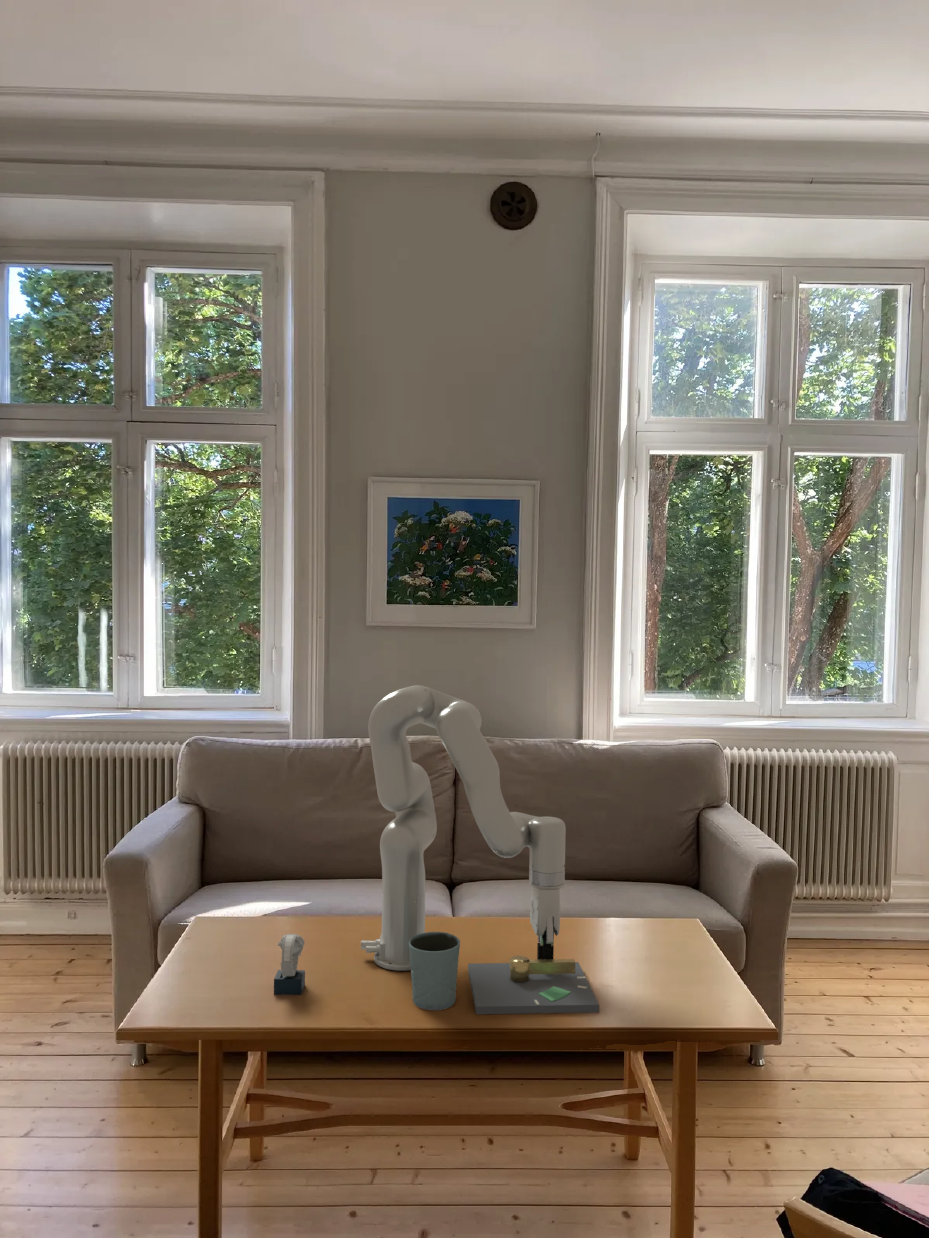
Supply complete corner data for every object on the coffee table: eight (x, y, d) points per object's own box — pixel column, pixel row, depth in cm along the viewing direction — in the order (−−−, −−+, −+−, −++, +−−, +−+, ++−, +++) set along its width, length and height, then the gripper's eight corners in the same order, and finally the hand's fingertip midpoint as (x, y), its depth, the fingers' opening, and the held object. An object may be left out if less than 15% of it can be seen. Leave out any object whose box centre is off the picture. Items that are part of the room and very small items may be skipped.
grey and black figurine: (306, 980, 182) (307, 928, 182) (299, 998, 174) (300, 943, 174) (279, 980, 182) (279, 928, 182) (271, 998, 174) (272, 943, 174)
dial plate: (476, 1014, 169) (476, 1005, 169) (468, 970, 189) (468, 962, 189) (599, 1012, 171) (599, 1003, 171) (578, 968, 191) (578, 961, 191)
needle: (511, 982, 179) (511, 963, 179) (508, 973, 183) (508, 955, 183) (576, 981, 180) (576, 962, 180) (572, 973, 184) (572, 955, 184)
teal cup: (467, 995, 177) (468, 936, 177) (445, 1016, 168) (446, 954, 167) (422, 985, 181) (423, 928, 181) (398, 1006, 172) (399, 945, 171)
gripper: (523, 866, 193) (522, 948, 193) (535, 888, 178) (533, 978, 178) (557, 865, 193) (556, 948, 194) (571, 888, 178) (569, 977, 179)
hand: (545, 962), depth 186 cm, fingers closed
